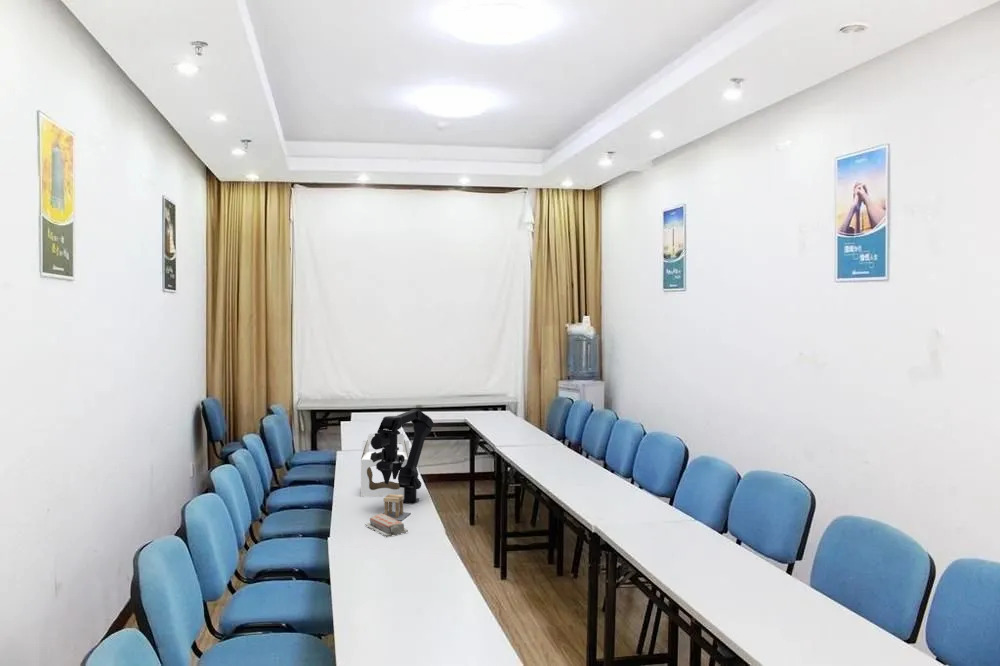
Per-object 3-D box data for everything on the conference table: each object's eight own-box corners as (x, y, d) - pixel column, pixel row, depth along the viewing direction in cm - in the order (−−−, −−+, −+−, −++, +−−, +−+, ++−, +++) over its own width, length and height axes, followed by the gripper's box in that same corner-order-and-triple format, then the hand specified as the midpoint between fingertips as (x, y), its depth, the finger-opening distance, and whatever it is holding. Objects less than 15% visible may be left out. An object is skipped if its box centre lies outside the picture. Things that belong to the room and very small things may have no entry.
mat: (386, 512, 314) (386, 510, 314) (410, 513, 311) (410, 512, 311) (376, 519, 303) (376, 518, 303) (401, 521, 301) (401, 520, 301)
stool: (389, 512, 311) (389, 494, 311) (403, 513, 310) (403, 495, 309) (383, 516, 305) (383, 497, 304) (398, 518, 303) (398, 498, 303)
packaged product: (409, 521, 286) (386, 526, 280) (408, 533, 286) (386, 538, 280) (386, 510, 300) (364, 514, 294) (386, 522, 300) (364, 526, 294)
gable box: (410, 489, 353) (410, 431, 352) (408, 496, 340) (409, 436, 339) (363, 489, 351) (363, 431, 350) (360, 497, 338) (360, 436, 337)
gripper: (381, 441, 328) (381, 475, 329) (364, 448, 310) (364, 485, 311) (404, 442, 326) (404, 477, 327) (389, 450, 308) (389, 487, 308)
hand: (390, 481), depth 318 cm, fingers open, 9 cm apart
